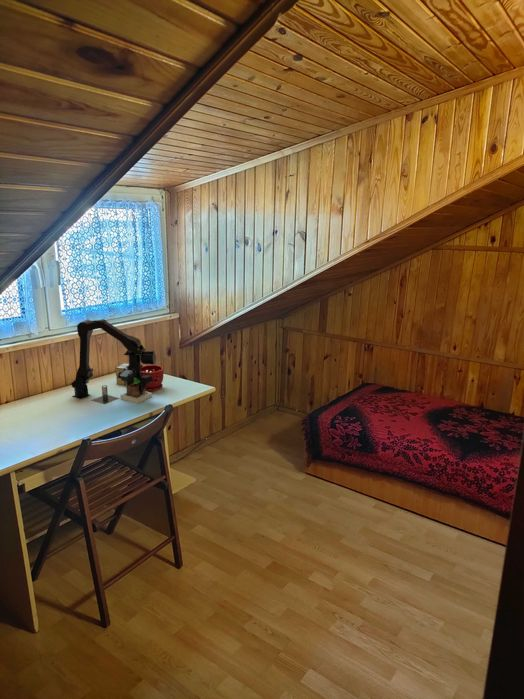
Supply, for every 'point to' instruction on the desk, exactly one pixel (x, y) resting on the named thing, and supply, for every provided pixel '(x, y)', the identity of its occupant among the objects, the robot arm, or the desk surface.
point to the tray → (136, 399)
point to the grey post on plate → (105, 396)
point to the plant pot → (156, 375)
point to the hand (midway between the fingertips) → (136, 393)
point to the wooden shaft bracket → (134, 390)
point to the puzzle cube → (120, 369)
